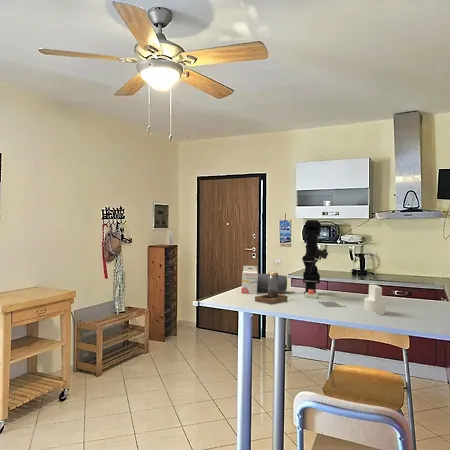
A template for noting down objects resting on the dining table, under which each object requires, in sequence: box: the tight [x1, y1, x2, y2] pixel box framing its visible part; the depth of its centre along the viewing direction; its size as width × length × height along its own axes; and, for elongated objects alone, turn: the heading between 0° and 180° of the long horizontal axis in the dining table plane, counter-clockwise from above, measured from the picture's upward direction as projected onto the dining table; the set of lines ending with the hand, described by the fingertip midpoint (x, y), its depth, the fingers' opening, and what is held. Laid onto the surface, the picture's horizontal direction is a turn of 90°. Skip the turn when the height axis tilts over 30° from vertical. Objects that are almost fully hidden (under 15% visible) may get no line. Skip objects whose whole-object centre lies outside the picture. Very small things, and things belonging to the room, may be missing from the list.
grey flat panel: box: [318, 301, 347, 308], centre depth 192 cm, size 12×10×1 cm
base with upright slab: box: [363, 284, 386, 315], centre depth 183 cm, size 9×9×12 cm
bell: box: [267, 271, 279, 299], centre depth 203 cm, size 5×5×14 cm
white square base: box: [303, 292, 319, 300], centre depth 209 cm, size 6×6×3 cm
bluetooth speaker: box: [257, 273, 288, 293], centre depth 229 cm, size 23×9×10 cm, turn 77°
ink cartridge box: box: [241, 265, 259, 295], centre depth 223 cm, size 9×5×15 cm, turn 84°
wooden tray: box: [254, 293, 288, 305], centre depth 202 cm, size 14×10×2 cm
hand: (310, 273), depth 212 cm, fingers open, 9 cm apart
